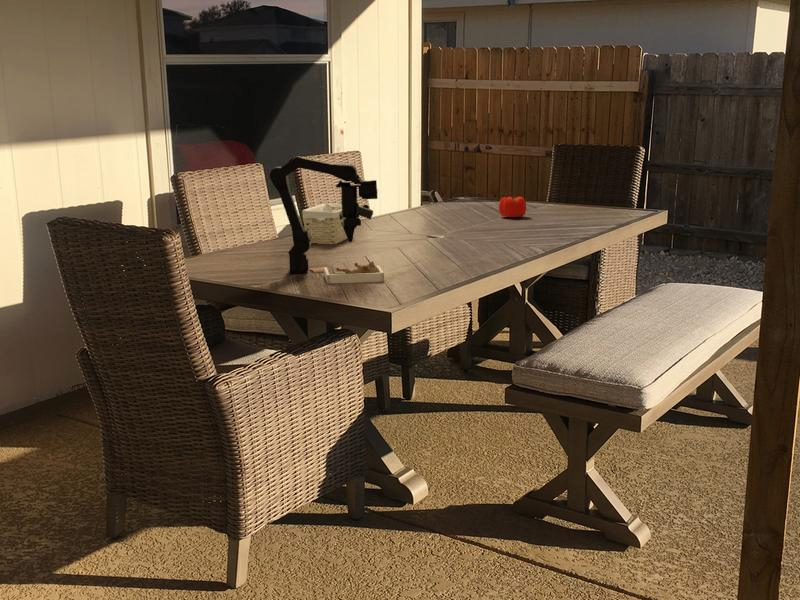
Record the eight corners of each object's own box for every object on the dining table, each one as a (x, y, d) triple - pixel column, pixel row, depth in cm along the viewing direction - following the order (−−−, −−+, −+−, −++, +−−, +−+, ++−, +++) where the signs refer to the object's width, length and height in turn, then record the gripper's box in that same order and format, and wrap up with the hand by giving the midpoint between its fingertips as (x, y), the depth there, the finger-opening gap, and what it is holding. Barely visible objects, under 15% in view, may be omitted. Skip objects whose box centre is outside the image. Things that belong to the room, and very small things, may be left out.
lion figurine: (364, 255, 351) (378, 262, 344) (366, 268, 353) (380, 275, 346) (330, 269, 344) (344, 276, 337) (333, 282, 346) (346, 290, 339)
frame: (327, 283, 336) (326, 275, 336) (324, 275, 350) (323, 267, 349) (384, 281, 339) (384, 273, 338) (378, 273, 353) (378, 265, 352)
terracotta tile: (314, 274, 355) (314, 271, 354) (309, 271, 360) (309, 268, 360) (330, 273, 357) (329, 269, 356) (324, 270, 362) (324, 266, 362)
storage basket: (336, 245, 411) (335, 211, 407) (301, 243, 416) (300, 209, 413) (357, 236, 433) (356, 204, 429) (323, 235, 438) (322, 202, 435)
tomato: (526, 215, 491) (526, 195, 489) (525, 219, 479) (526, 198, 476) (499, 215, 493) (499, 195, 491) (498, 219, 480) (498, 198, 478)
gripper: (374, 202, 342) (375, 245, 346) (368, 195, 360) (369, 237, 364) (343, 203, 340) (344, 246, 344) (338, 196, 358) (339, 238, 362)
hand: (350, 241), depth 353 cm, fingers closed
